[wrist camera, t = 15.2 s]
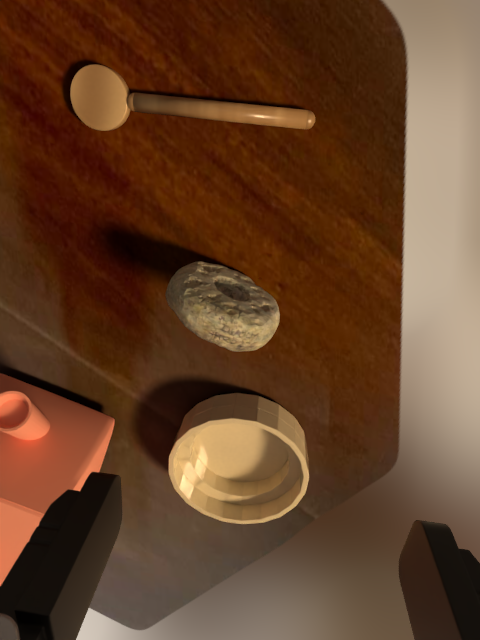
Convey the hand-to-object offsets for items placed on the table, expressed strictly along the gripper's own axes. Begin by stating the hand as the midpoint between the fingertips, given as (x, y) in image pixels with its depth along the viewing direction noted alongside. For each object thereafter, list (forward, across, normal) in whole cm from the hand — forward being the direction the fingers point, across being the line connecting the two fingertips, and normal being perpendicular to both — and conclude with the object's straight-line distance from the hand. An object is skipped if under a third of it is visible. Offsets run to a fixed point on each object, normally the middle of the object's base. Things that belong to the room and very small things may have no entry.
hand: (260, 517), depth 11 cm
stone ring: (+30, +4, +5) cm, 31 cm away
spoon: (+30, +8, -10) cm, 33 cm away
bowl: (+30, +1, +25) cm, 39 cm away
